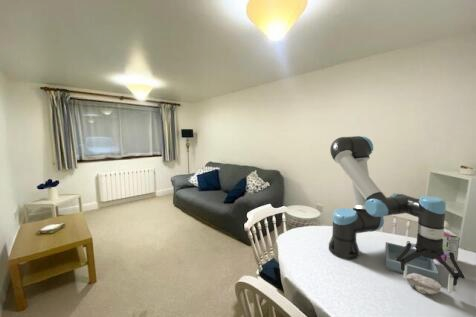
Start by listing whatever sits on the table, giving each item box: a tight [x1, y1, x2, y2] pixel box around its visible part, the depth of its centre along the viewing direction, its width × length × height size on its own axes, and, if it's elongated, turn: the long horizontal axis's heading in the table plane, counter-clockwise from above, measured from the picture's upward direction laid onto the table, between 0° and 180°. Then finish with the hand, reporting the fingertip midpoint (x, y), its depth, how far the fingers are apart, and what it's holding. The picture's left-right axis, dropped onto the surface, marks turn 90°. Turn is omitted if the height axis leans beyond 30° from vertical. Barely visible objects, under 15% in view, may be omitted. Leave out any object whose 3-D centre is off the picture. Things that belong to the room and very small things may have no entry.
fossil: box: [406, 273, 442, 295], centre depth 83 cm, size 9×6×10 cm
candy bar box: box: [435, 227, 461, 269], centre depth 99 cm, size 11×5×16 cm, turn 168°
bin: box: [384, 242, 440, 283], centre depth 98 cm, size 18×18×5 cm
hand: (426, 284), depth 82 cm, fingers open, 13 cm apart
